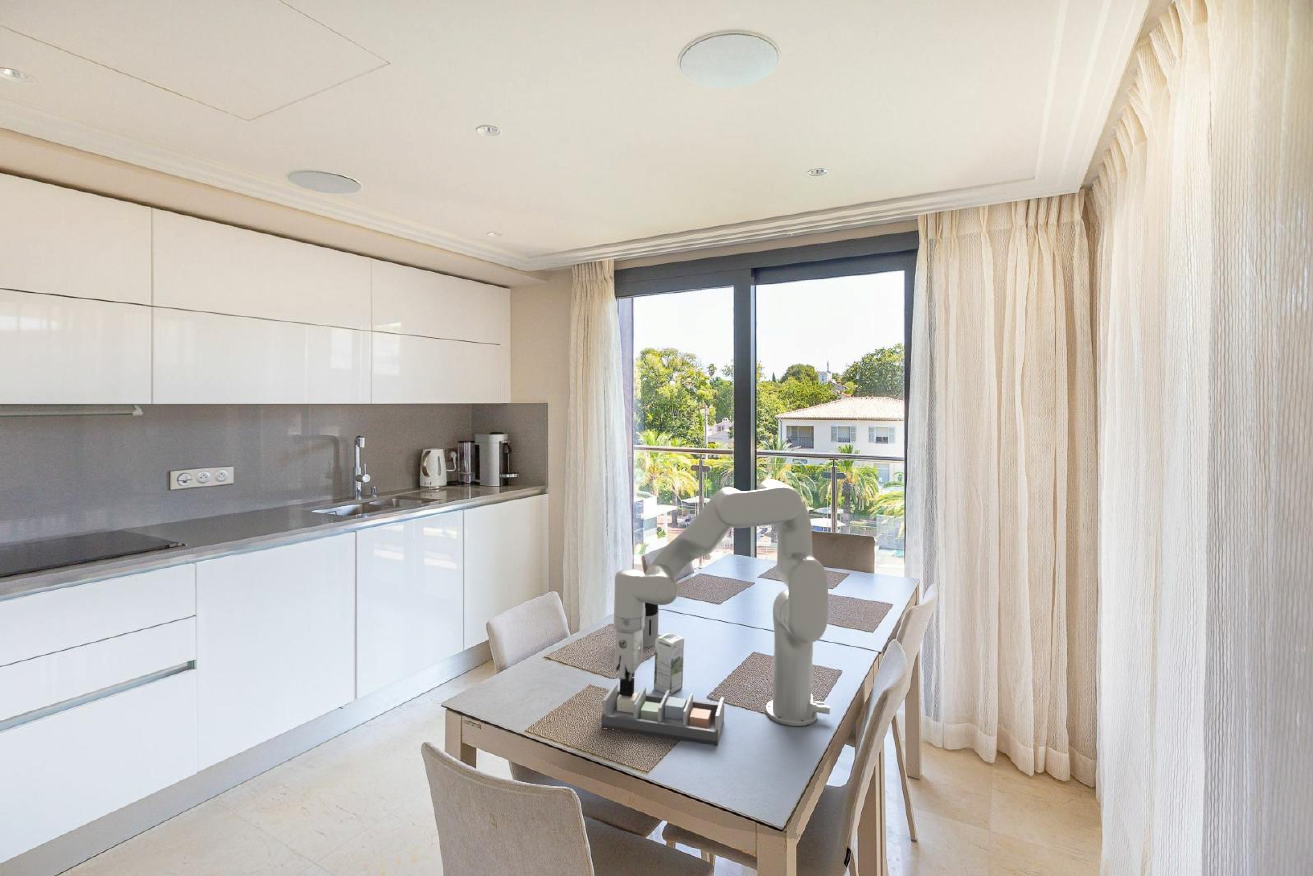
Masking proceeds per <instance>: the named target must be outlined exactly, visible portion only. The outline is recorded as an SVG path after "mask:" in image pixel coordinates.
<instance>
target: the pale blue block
mask: <svg viewBox="0 0 1313 876" xmlns="http://www.w3.org/2000/svg"><path fill="white" fill-rule="evenodd" d="M687 700H688V699H687V698H682V697H673V696H669V698H668V700H667V702H666V704H665V717H666V718H673V719H681V720H683V711H684V708H685V706H686V703H687Z"/></svg>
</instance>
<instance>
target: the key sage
mask: <svg viewBox="0 0 1313 876" xmlns="http://www.w3.org/2000/svg"><path fill="white" fill-rule="evenodd" d="M659 705H660V703H654V702H646V701H645V703H644V705H643V707H642V708H641V719H642V720H649V721H656V722H658V707H659Z"/></svg>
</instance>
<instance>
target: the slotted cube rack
mask: <svg viewBox="0 0 1313 876" xmlns="http://www.w3.org/2000/svg"><path fill="white" fill-rule="evenodd" d="M618 685H619V684H618V683H617V682H614V683H613V685H612V686H611V688H610V689H609V691H608V692H607V693H606V695H605V696H604V698H603V699H602V714H601V722H600V723H601V727H600V728H607V729H606V730H608V729H614V730H613V731H615V730H620V731H619V732H622V731H624V732H623V733H628V732H631V733H630V734H635V733H636V734H637V735H642V736H649V737H657V738H662V739H671V740H676V741H682V742H683V741H684V742H690V743H696V744H697V743H698V744H703V745H704V744H705V745H710V746H715V747H716V746H717V747H718V745H719V742H720V738H721V734H722V730H723V726H724V723H725V696H724V697H723V696H721V697H720V699H719V702H718V703H716V702H707V701H699V700H694V692H692V693H690V694H689V696H688V699H687V703H686V706H685V708H684V711H683V720H681V719H673V718H666V717H665V704H666V702H667V700H668V698H669V697H670V695H669V690H667V691H666V693H664V695H663V696H661V695H656V694H655V695H654V694H647V687H646V686H643V688H642V690H641V691H640V692H638V693H639V696H638V698H637V700H636V701H635V703H634V713H631V712H624V711H617V698H618V696H619V695H620V690H618V689H619V687H618ZM645 701H646V702H654V703H660V705H659V707H658V722H656V721H649V720H642V719H641V708H642V707H643V705H644V703H645ZM693 708H698V709H705V710H711V723H710V726H709V729H705V728H698V727H691V726H690V715H691V712H692V709H693Z"/></svg>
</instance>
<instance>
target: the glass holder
mask: <svg viewBox="0 0 1313 876" xmlns="http://www.w3.org/2000/svg"><path fill="white" fill-rule="evenodd" d="M659 616H660V615H659V605H656V604H651V603H645V620H644V629H643V648H653V647H655V641H656V638H658V637H659Z"/></svg>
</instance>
